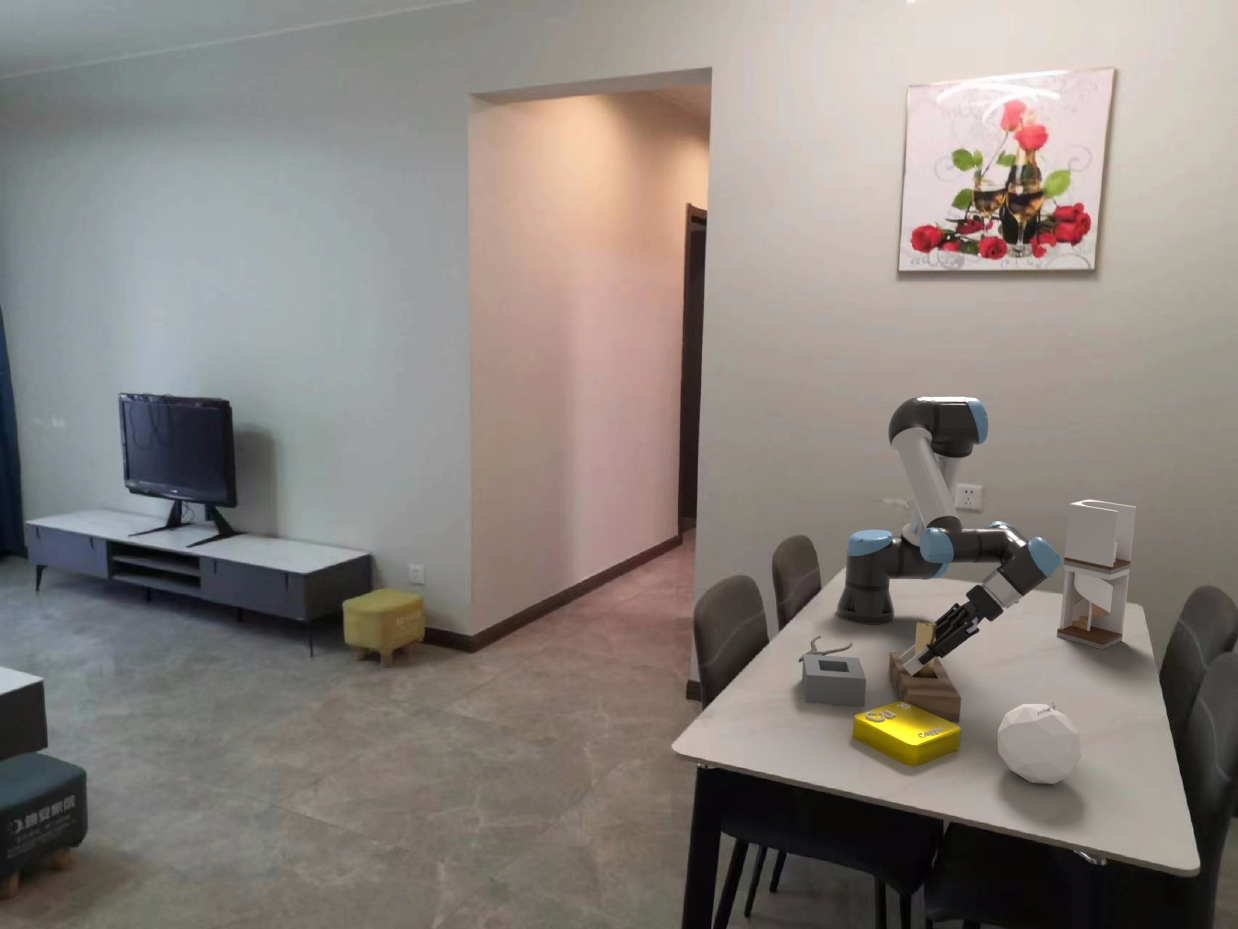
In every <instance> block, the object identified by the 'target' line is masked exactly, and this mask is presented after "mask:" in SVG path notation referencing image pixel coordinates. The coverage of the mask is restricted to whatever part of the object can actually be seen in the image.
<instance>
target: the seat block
mask: <svg viewBox="0 0 1238 929" xmlns="http://www.w3.org/2000/svg"><path fill="white" fill-rule="evenodd" d="M802 655H803V661H802V671H801V672H802V673H801V681H802V682H801V683H802V689H803V695H804V700H805V703H813V704H815V703H816V704H827V705H828V704H829V705H840V706H841V705H842V706H855V707H856V706H857V707H865V701H866V687H867V686H866V683H867V682H866V681H867V678H866V675H865V672H864V670H863V666H862V663H861V660H860V658H859V657H854V656H853V657H852V656H851V657H850V656H837V655H809V654H806V653H803V654H802Z"/></svg>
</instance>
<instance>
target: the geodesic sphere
mask: <svg viewBox="0 0 1238 929" xmlns="http://www.w3.org/2000/svg"><path fill="white" fill-rule="evenodd" d="M1054 704H1055V702H1052V703H1051V706H1050V705H1048V704H1046V703H1022V704H1021V705H1019V706H1017V707H1015V708H1013V709H1011V710H1010V711H1008V712H1006V713H1005V715H1004V717H1003V719H1002V721H1001V724H1000V725H999V727H998V730H997V753H998V754H999V756H1000V757H1001V759H1002V760H1003V762H1005V763H1004V764H1006V766H1007V767H1008V768H1009V770H1010V771H1011V772H1013V773H1015V774H1016V775H1018V776H1020V777H1021V778H1023V779H1024V780H1026V781H1028V782H1029V783H1033V784H1049V785H1050V784H1052V785H1055V784H1056V783H1058V782H1060V781H1061V780H1063V779H1065V778H1067V777H1069V776H1071V775H1072V774H1073V773H1074V770H1075V768H1076V767H1077V765H1078V763H1079V761H1080V760H1081V757H1082V752H1081V751H1082V749H1081V740H1080V733H1079V731H1078V730H1077V728H1076V727H1075V726H1074V724H1073V722H1072V721H1071V720H1070V718H1069V717H1068V716H1067V715H1066V714H1063V713H1062V712H1060V711H1058V710H1057V706H1056V705H1054Z"/></svg>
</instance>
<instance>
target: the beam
mask: <svg viewBox="0 0 1238 929" xmlns="http://www.w3.org/2000/svg"><path fill="white" fill-rule="evenodd" d="M903 653H905V652H901V651H889V662H888V663H889V665H888V673H889V676H890V679H891V680H892V683H893V686H894V687H895V690H896V694H897V696H898V699H899V701H903V702H906V703H909V704H911V705H913V706H915V707H918V708H920V709H922V710H924V711H927V712H929V713H931V714H933V715H936V716H938V717H940V718H942V719H945V720H947V721H949V722H960V717H961V716H960V715H961V705H962V704H961V701H962V697H961V695H960V694H959V692H958V690H957V688H956V687H955V685H954V683H953V681H952V680H951V678H950V677H949V675H948V673H947V671H946V670H945V668H944V666H943V665H942V663H941V661H940V660H939V657H935V658H934V670H933V678H920V677H913V675H912V676H911V674H910V673H909V672H908V671H907V670H906V669H905V668H904V667H903V665H904V663H903V662H902V661H901V660H900V659H899V657H900V656H901V655H902V654H903Z"/></svg>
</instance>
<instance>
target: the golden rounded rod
mask: <svg viewBox="0 0 1238 929" xmlns="http://www.w3.org/2000/svg"><path fill="white" fill-rule="evenodd" d="M936 629H937V624H935V623H934V622H933V621H928V620H918V621H917V622H916V628H915V630H916V632H915V641H914V642H915V644H914V645H915V655H916V654H917V653H919V652H920V651H921V650H922V649H924V648H925V647H926V645H927V644H929V645H930V646H931V645H932V644H933V643H934V642H935V641H936ZM933 670H934V659H933V660H931V661H930V662H929V663H927V664H926V665H925V666H924V667H922V668H921V669H920V670H919V671H917V672H916V673H915V674H914V675H913V677H920V678H933Z"/></svg>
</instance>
